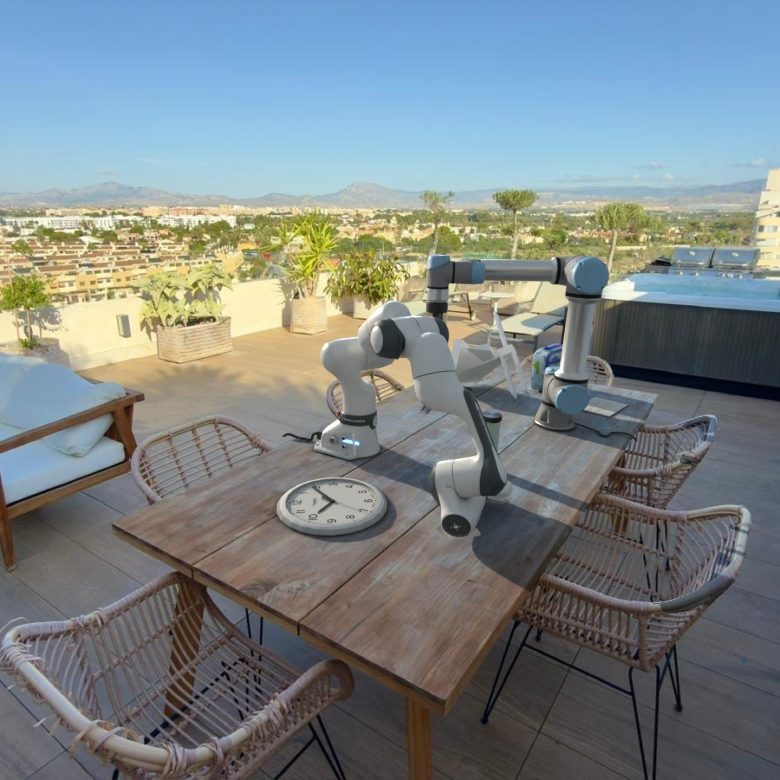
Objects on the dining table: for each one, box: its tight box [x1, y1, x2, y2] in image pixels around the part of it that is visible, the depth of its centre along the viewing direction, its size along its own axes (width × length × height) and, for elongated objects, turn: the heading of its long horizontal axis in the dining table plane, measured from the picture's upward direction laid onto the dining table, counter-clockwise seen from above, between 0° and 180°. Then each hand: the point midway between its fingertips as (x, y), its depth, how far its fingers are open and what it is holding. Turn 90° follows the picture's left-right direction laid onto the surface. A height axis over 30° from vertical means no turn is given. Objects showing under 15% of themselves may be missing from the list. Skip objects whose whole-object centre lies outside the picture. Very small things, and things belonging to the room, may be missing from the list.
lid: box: [482, 410, 503, 423], centre depth 160 cm, size 6×6×2 cm
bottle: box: [486, 422, 501, 453], centre depth 163 cm, size 5×5×18 cm
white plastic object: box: [451, 310, 531, 400], centre depth 245 cm, size 37×45×31 cm
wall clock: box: [276, 476, 388, 537], centre depth 142 cm, size 30×2×30 cm
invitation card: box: [583, 396, 629, 418], centre depth 226 cm, size 21×1×15 cm
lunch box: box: [530, 343, 563, 391], centre depth 249 cm, size 26×11×21 cm, turn 134°
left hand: (478, 473), depth 150 cm, fingers open, 8 cm apart
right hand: (434, 360), depth 187 cm, fingers open, 13 cm apart
